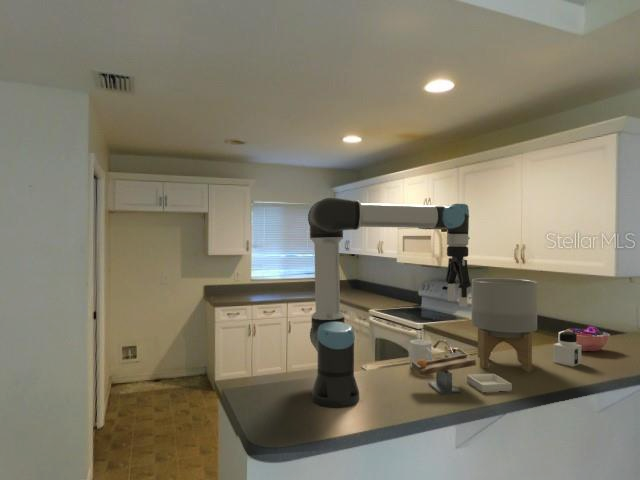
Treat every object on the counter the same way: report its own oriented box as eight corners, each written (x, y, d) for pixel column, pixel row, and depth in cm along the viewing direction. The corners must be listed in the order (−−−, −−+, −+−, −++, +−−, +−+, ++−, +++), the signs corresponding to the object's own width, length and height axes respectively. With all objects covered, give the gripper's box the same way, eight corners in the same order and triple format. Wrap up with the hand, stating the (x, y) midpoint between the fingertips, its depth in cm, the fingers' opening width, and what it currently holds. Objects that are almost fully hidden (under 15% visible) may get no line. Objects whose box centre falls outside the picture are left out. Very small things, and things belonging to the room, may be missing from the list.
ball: (420, 371, 142) (418, 361, 141) (416, 368, 145) (414, 359, 145) (429, 368, 142) (427, 359, 142) (425, 365, 145) (423, 356, 145)
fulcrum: (440, 394, 139) (440, 373, 139) (428, 384, 149) (428, 364, 149) (460, 393, 140) (460, 372, 140) (447, 383, 150) (447, 363, 150)
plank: (420, 375, 140) (419, 367, 139) (406, 364, 152) (405, 356, 152) (476, 365, 142) (475, 356, 142) (458, 354, 155) (457, 347, 155)
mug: (441, 372, 162) (441, 345, 162) (422, 374, 159) (422, 347, 159) (423, 363, 173) (423, 338, 173) (406, 365, 171) (406, 340, 171)
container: (581, 363, 175) (581, 332, 175) (572, 367, 170) (572, 334, 170) (562, 359, 181) (562, 329, 181) (553, 362, 177) (553, 331, 177)
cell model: (553, 346, 204) (553, 322, 204) (591, 345, 207) (591, 322, 207) (578, 355, 188) (578, 330, 188) (620, 354, 190) (620, 329, 190)
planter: (458, 359, 180) (458, 279, 180) (499, 352, 191) (499, 277, 191) (508, 376, 158) (508, 284, 158) (550, 367, 169) (551, 282, 169)
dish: (482, 392, 141) (482, 384, 141) (466, 382, 151) (466, 374, 151) (511, 391, 142) (511, 383, 142) (494, 380, 153) (494, 373, 153)
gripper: (480, 246, 143) (479, 309, 143) (457, 245, 168) (456, 298, 168) (458, 246, 143) (457, 308, 143) (438, 245, 168) (437, 298, 168)
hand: (456, 303), depth 155 cm, fingers open, 13 cm apart
